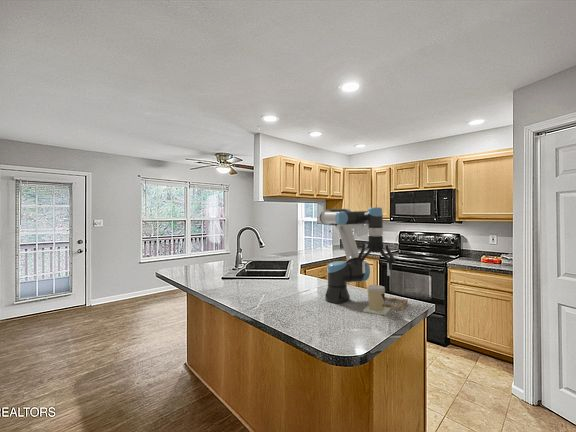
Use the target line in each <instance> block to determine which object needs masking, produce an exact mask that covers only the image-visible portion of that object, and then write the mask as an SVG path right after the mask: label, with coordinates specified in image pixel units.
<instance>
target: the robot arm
mask: <svg viewBox="0 0 576 432" xmlns="http://www.w3.org/2000/svg"><path fill="white" fill-rule="evenodd" d="M383 214H384V213H383V208H382V207H368V209H367V210H362V211H360V210H359V211H357V210H356V211H351V209H348V208H338V209H337V208H335V209H333V208H331V209H330V208H329V209H325V210H323V211H321V212H320V213H319V221H320V223H321V224H323V225H325V226H335V229H336V230H337V231H338V232H339V235H340V236H339V237H340V239H341V242H342V247H343V250H344V254H345V257H346V261H344V260H339V261H338V260H337V261H332V262H330V263H328V264H327V270H326V273H327V289H326V292H325V294H324V295H325V300H324V301H326V302H328V303H332V304H333V303H334V304H344V303H348V302H350V301H351V296H350V294H349V290H348V285H347V283H353V282H354V283H357V282H358V283H359V282H360V283H362V282H365V281H368V280H369V278H370V275H371V268H370V265H369V263H368V262H366V261H365V260H366V258H367V257H368V256H369V255H370V254H371V253H379V254H380V255H381V256H382V257H383V258H384V259H385V260H386V262H387V263H386V266H387V267H386V268H387V269H386V271H387V272H386V275H387V276H388V277H389V276H391V270H392V269H393V263H396V258H395V257H394V254H393V253H392V251H391V249H390V245H389V244H384V241H383V240H384V238H383V237H384V236H383V233H384V231H383V230H384V229H383V227H384V225H383V223H384V222H383V219H384V217H383V216H384V215H383ZM353 225H368V233H367V234H368V235H369V236H368V243H363V244H362V247H361V250H360V252H359V250H358V246H357V242H356V239H355V236H354V233H353V229H352V226H353ZM367 248H368V250H367V251H366V249H367ZM383 249H384V250H386V253H387V254H386V253H385V251H384V250H383ZM365 252H366V253H365ZM364 253H365V254H364Z"/></svg>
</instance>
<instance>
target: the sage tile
mask: <svg viewBox="0 0 576 432" xmlns="http://www.w3.org/2000/svg"><path fill="white" fill-rule="evenodd" d="M391 310H392V309H391V308H390V307H384V310H382V311H373V310H371V309H369V304H368V305H367V306H366V307H365V308H364V309H363V310H362V312H363V313H369V314H375V315H380V316H387V314H388V313H389V312H390V311H391Z"/></svg>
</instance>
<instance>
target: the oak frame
mask: <svg viewBox="0 0 576 432" xmlns="http://www.w3.org/2000/svg"><path fill="white" fill-rule="evenodd" d="M385 301H386V302H391V303H392V302H394V303H399V304H400V303H401V304H400V305H397V304H396V305H395V304H389V303H384V307H390V308H391V310H396V311H397V310H399V311H403V310H404V309H405V307H406V306H407V305H406V304H408V299H403V298H396V297H395V298H394V297H388V296H385V299H384V302H385Z"/></svg>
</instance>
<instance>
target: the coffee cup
mask: <svg viewBox="0 0 576 432" xmlns="http://www.w3.org/2000/svg"><path fill="white" fill-rule="evenodd" d="M385 295H386V288H385V286H382V285H379V284H371V285H367V298H368V305H369V309H371V310H373V311H382V310H384V304H385V301H384V299H385V297H386V296H385Z"/></svg>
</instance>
